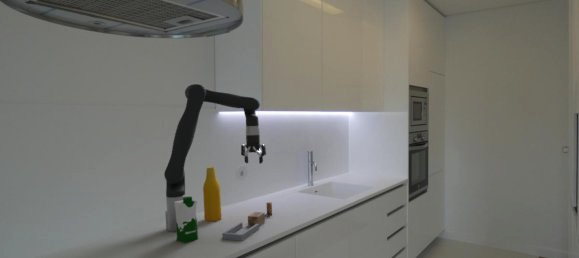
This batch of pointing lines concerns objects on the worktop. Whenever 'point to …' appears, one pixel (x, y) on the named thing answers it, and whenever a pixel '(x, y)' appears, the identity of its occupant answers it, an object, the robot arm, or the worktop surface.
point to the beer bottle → (211, 197)
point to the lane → (230, 234)
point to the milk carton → (186, 220)
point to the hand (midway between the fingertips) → (253, 163)
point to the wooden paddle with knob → (259, 216)
